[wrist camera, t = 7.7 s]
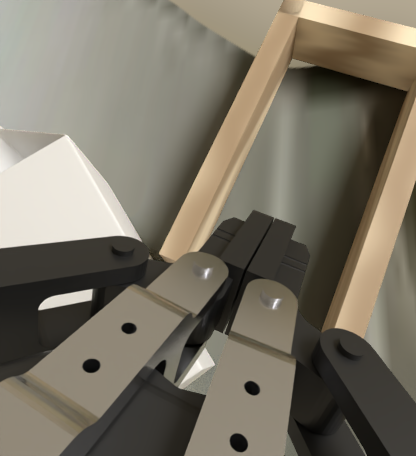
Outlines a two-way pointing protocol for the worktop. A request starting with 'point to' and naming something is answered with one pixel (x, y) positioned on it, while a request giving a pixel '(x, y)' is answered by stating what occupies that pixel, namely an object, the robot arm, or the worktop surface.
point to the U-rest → (256, 111)
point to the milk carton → (60, 204)
